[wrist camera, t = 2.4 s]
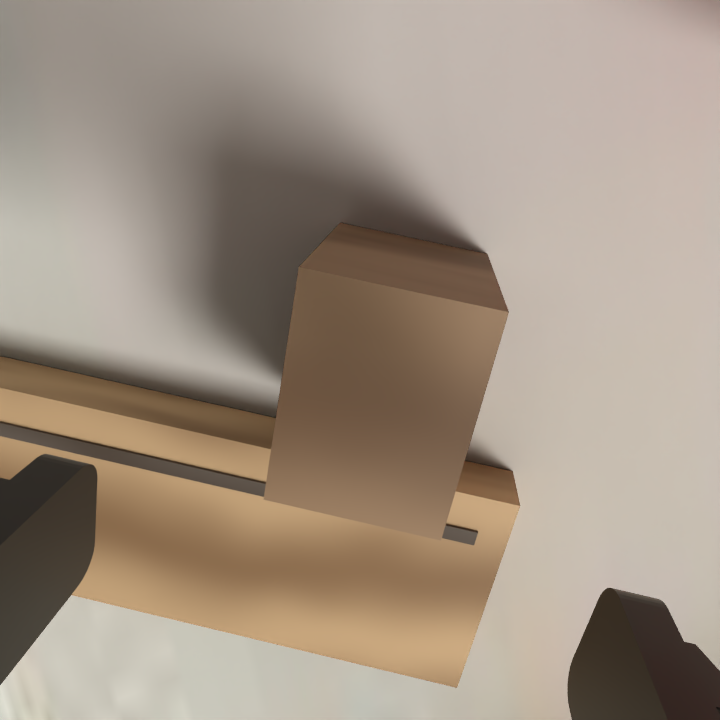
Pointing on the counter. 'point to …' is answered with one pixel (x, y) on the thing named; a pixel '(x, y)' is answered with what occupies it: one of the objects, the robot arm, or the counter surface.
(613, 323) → the counter surface
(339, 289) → the walnut block
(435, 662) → the oak board
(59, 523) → the robot arm
